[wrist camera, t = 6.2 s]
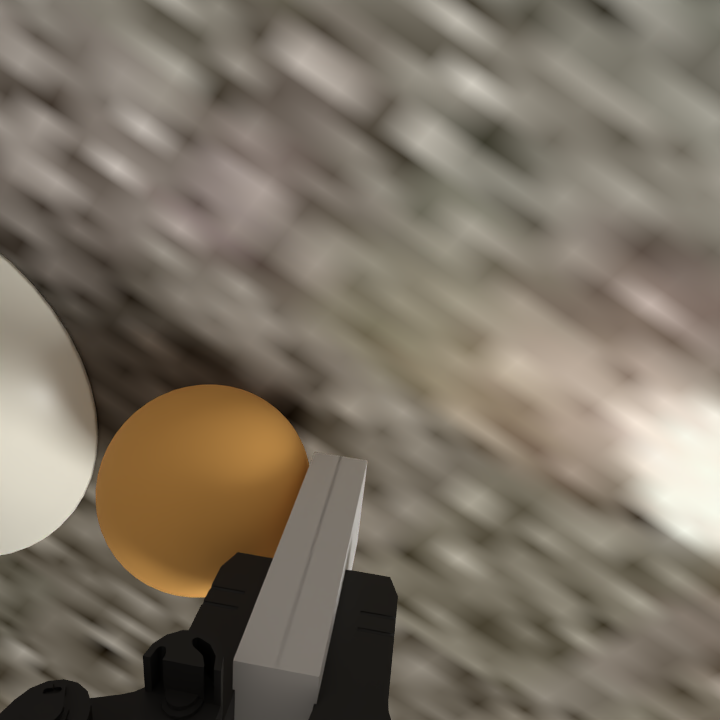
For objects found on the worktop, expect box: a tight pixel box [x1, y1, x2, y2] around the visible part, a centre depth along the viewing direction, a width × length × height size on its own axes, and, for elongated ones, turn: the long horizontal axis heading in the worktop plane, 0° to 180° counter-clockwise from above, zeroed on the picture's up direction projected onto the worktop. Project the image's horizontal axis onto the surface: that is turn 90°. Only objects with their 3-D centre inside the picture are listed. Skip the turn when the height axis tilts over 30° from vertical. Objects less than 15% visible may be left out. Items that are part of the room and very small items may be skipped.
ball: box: [96, 385, 309, 597], centre depth 16 cm, size 6×6×6 cm
